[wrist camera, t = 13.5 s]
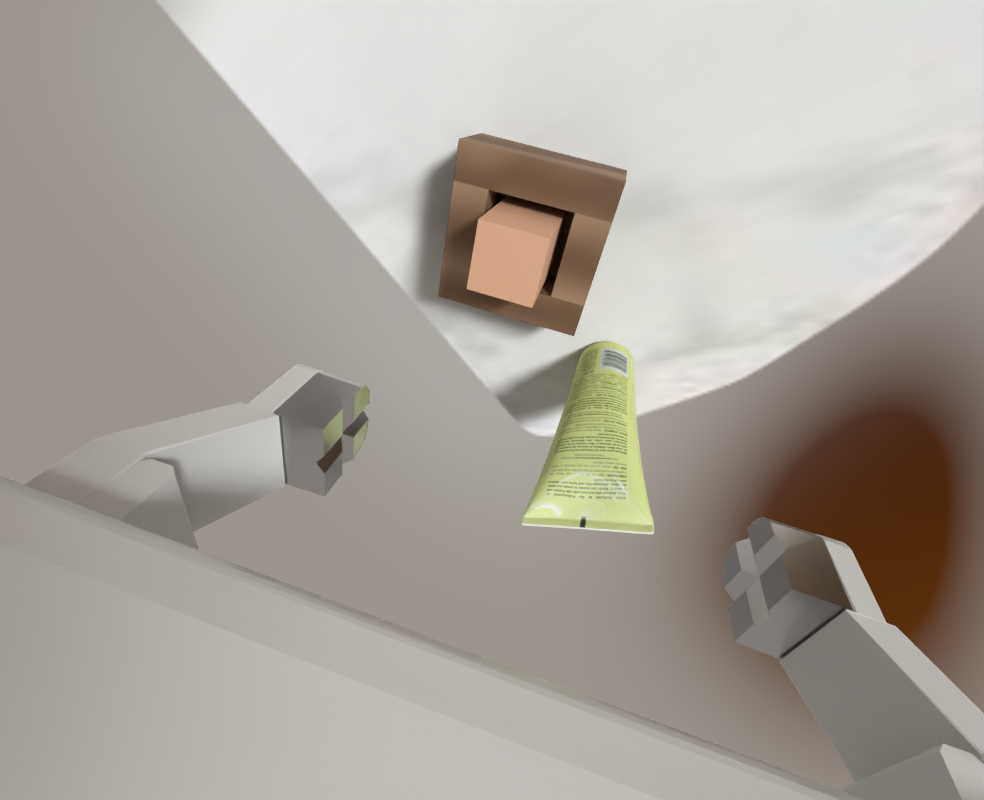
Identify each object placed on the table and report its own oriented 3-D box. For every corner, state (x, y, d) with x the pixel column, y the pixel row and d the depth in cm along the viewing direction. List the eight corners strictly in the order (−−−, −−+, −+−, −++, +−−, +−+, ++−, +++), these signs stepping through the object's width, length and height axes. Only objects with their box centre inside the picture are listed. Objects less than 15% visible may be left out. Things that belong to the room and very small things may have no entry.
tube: (600, 401, 44) (582, 573, 28) (561, 368, 43) (519, 526, 27) (646, 364, 41) (655, 534, 25) (605, 327, 40) (586, 480, 24)
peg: (510, 193, 35) (478, 219, 28) (568, 208, 34) (550, 238, 27) (499, 251, 37) (466, 288, 30) (552, 266, 37) (532, 307, 30)
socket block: (481, 133, 34) (458, 138, 30) (626, 170, 33) (625, 181, 29) (459, 274, 40) (438, 296, 36) (580, 309, 39) (573, 336, 35)
